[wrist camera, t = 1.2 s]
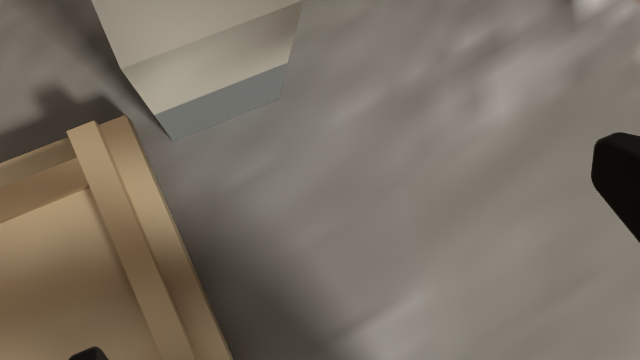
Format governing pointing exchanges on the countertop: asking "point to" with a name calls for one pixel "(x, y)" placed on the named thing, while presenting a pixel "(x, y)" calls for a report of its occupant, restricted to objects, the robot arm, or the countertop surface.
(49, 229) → the wooden tray
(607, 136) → the robot arm
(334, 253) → the countertop surface
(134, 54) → the plain gray box
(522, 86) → the countertop surface
